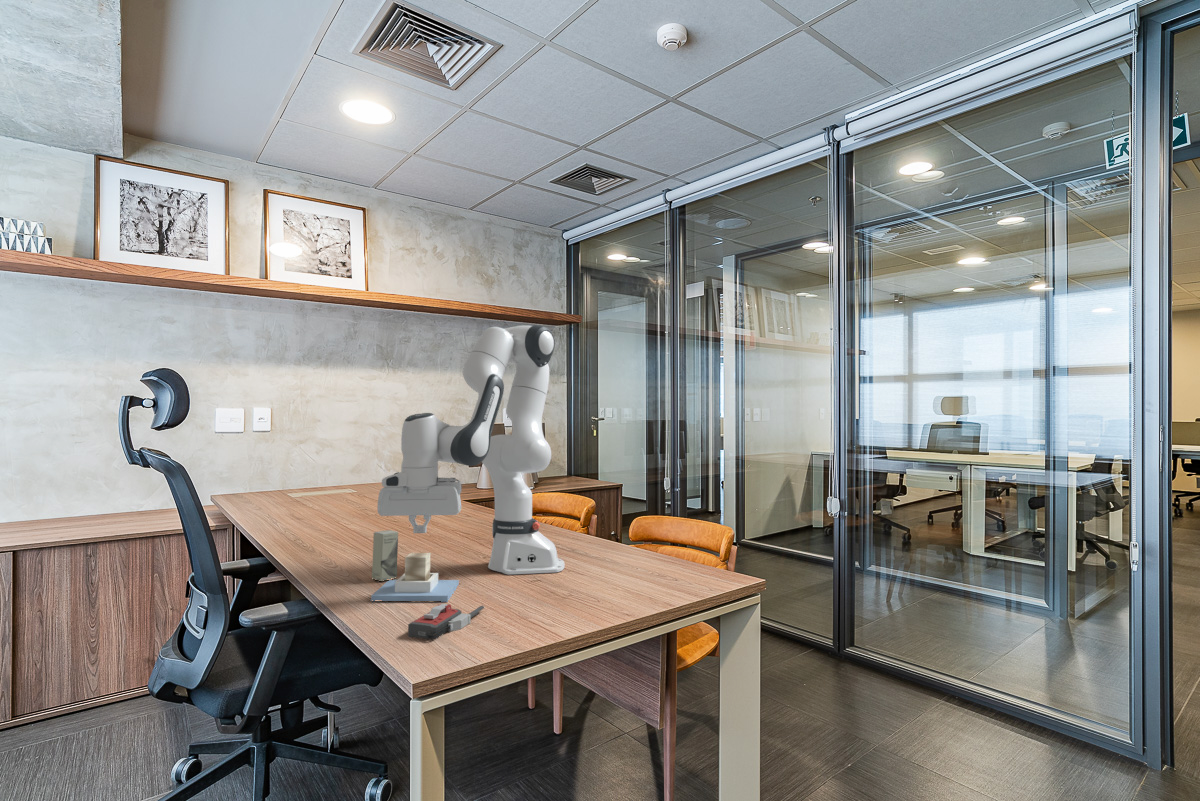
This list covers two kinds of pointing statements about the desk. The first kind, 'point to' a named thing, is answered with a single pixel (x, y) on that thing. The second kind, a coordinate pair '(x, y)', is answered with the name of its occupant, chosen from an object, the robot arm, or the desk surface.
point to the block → (417, 567)
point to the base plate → (416, 590)
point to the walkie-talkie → (440, 622)
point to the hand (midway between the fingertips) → (420, 532)
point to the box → (385, 555)
